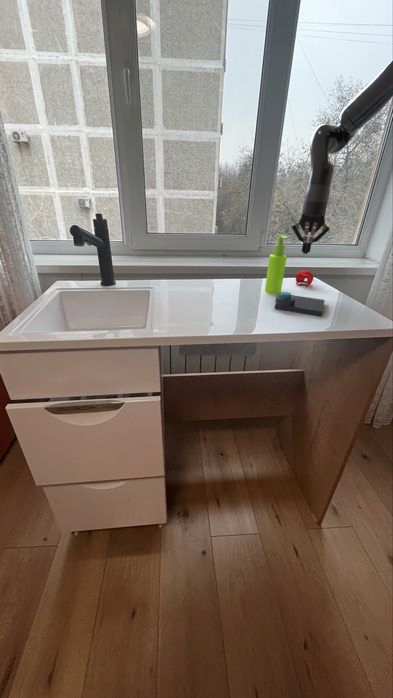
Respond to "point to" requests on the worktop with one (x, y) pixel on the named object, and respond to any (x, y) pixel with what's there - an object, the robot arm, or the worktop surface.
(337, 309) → the worktop surface
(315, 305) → the scale
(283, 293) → the tare button
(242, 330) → the worktop surface
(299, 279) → the cap
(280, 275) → the soap dispenser
